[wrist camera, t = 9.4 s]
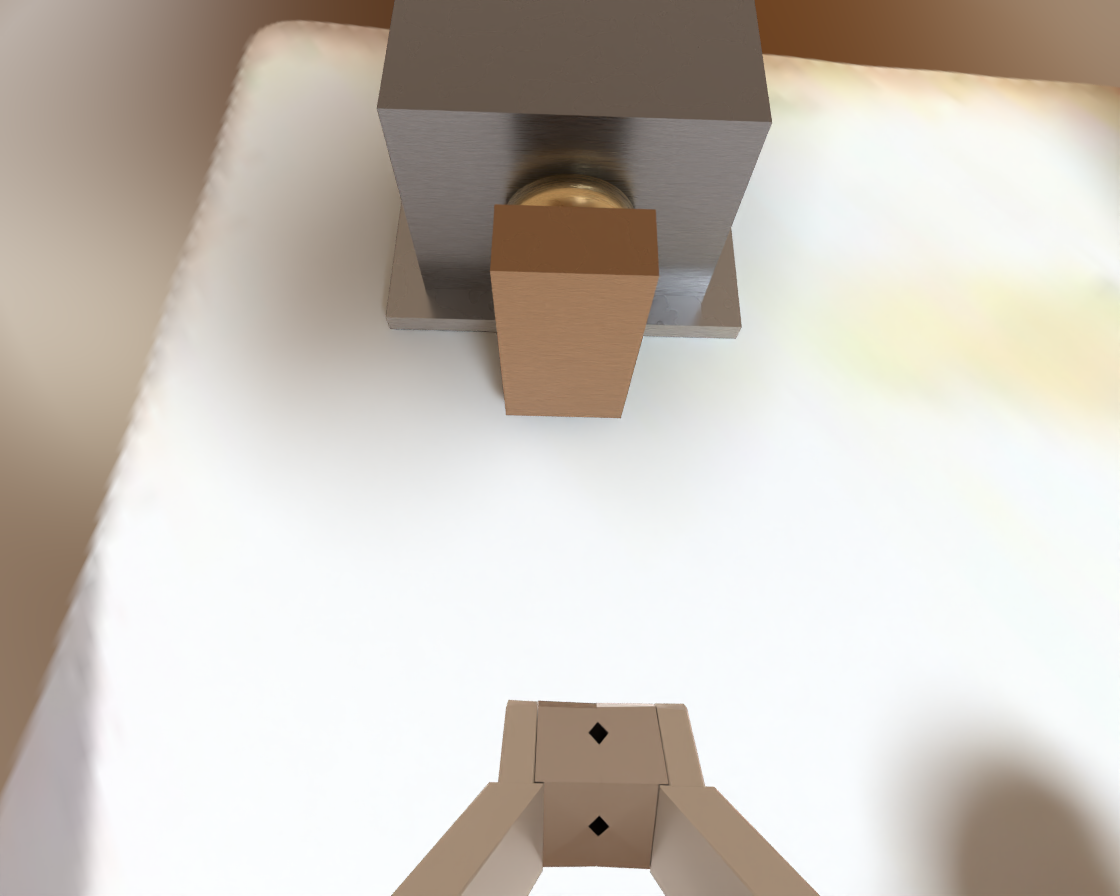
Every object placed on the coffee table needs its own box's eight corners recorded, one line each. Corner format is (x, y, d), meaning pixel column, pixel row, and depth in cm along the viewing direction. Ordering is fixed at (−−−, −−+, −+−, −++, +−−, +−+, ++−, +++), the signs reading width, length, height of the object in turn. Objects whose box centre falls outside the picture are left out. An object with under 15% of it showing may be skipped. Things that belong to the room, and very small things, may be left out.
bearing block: (735, 338, 38) (827, 161, 26) (390, 329, 38) (319, 144, 26) (712, 112, 45) (777, -113, 33) (420, 101, 45) (375, -130, 32)
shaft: (624, 418, 34) (664, 276, 23) (502, 415, 34) (484, 270, 23) (617, 122, 42) (644, -89, 31) (517, 119, 42) (510, -94, 31)
